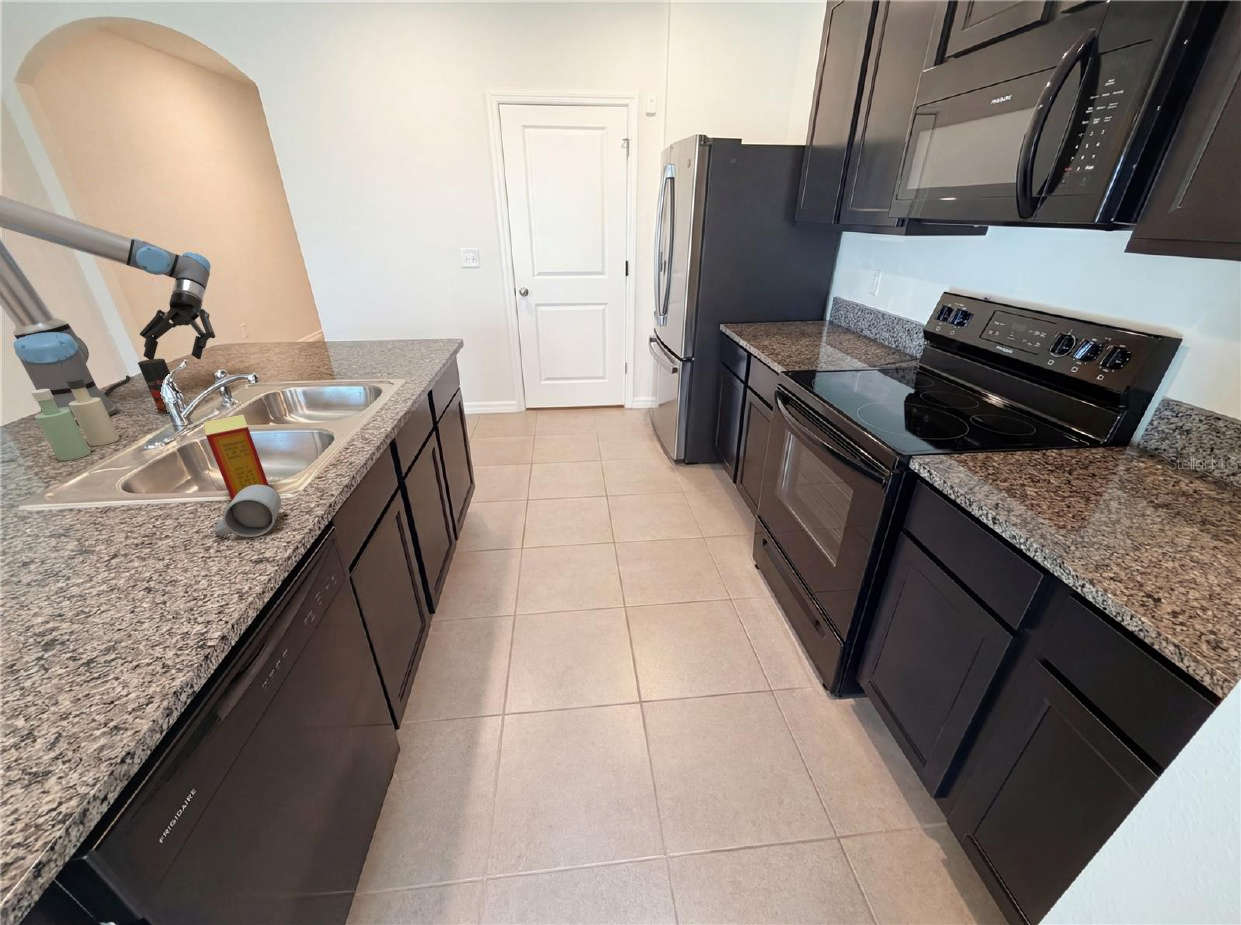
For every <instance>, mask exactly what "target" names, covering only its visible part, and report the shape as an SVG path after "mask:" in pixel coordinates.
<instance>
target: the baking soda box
mask: <svg viewBox="0 0 1241 925" xmlns="http://www.w3.org/2000/svg"><path fill="white" fill-rule="evenodd" d="M203 426H204V432H205V437H206V440H207V442H208V444H209V447H210V450H211V452H212V454H213V458H214V460H215V462H216V464H217V467H218V470H219V472H220V475H221V477H222V479H223V482H224V485H225V487H226V489H227V492H228V494H229V497H230V499H231V501H232V500H233V499H234V498H235V496H236V495H237V494H238V493H239V492H240V491H241V490H243V489H244V488H246V487H248V486H251V485H266V486H269V487H270V484H269V482H268V479H267V476H266V473H265V471H264V468H263V465H262V462H261V460H260V457H259V453H258V452H257V448H256V446H255V443H254V440H253V437H252V434H251V431H250V429H249V426H248V423H247V421H246V417H245V415H244V413H240V414H236V415H235V414H234V415H231V416H230V415H229V416H225V417H220V418H215V419H210V420H204V421H203Z"/></svg>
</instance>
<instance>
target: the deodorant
mask: <svg viewBox="0 0 1241 925" xmlns="http://www.w3.org/2000/svg"><path fill="white" fill-rule="evenodd" d="M137 365H138V367H139V369H140V372H141V374H142V377H143V379H144V382H145V384H146V385H147V386H146V387H147V388H148V390H149V392H150V395H151V397H152V399H153V402H154V404H155V406H156V409H157V410H158V411H157V412H158V413H159V414H161V415H168V414H169V413H168V412H167V410H166V405H165V404H164V402H163V399H162V398H161V394H160V392H161V387H162V383H163V380H164V379H165V377H166V376H167V375H168V374H171V372H170V370H169V367H168V365H167V362H166V360H165V358H154V359H150V360H149V359H145V360H141V361H138V362H137ZM173 382H174V383H175V381H174V380H173Z"/></svg>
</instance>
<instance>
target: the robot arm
mask: <svg viewBox="0 0 1241 925" xmlns="http://www.w3.org/2000/svg"><path fill="white" fill-rule="evenodd" d="M0 228H1V229H6V230H9V231H12V232H15V233H19V234H21V235H24V236H29V237H32V238H35V239H38V240H42V241H46V242H48V243H51V244H54V245H55V244H56V245H59V246H60V247H61V246H62V247H64V248H65V247H66V248H69V249H72V250H75V251H77V252H82V253H85V254H88V255H91V256H95V257H97V258H101V259H104V260H108V261H112V262H115V263H118V264H121V265H125V266H129V267H131V268H134V269H138V270H141V271H144V272H145V273H147V274H150V275H151V274H152V275H154V276H162V275H163V276H166V277H168V278H172V279H174V284H173V288H172V290H171V296H170V298H169V302H168V306H169V310H168V311H163V310H162V309H158V310H157V311H156V313H155V315H154V317H153V318H152V319H151V320H150V321H149V322H148V323H147V324H146V326H145V327H143V329H142V330H141V331H140V332H139V336H141V337H142V338H144V339H145V340H144V344H143V347H144V353H143V357H144V358H146V359H147V360H150V359H155V356H156V352H157V349H158V345H159V341H157V340H158V339H160V338H161V337H162V336H164V335H165V334H166V333H167V332H169V331H170V330H171V329H173V328H174V329H175V328H177V327H181V326H191V327H192V329H193V330H194V331H195V332H196V333H197V335H195V337H194V342H193V346H192V351H191V356H193V357H194V358H195V359H197V360H201V359H202V355H203V350H204V349H206V347H207V343H208V341H209V340H210V339H215V338H216V334H215V331H214V328H213V325H212V324H211V321H210V313H208V312H207V310H205V309H204V308H202V307H203V302H204V298H205V294H206V290H207V286H208V283H209V278H210V275H211V267H212V265H211V263H210V260H208V259H207V258H206V257H205V256H203V255H202V254H199V253H197V252H195V253H194V252H191V251H186V252H183V253H182V254H181V255H180V254H177V253H174V252H172V251H169V250H167V249H164V248H162V247H159V246H157V245H154V244H152V243H149V242H148V241H145V240H141V239H139V238H135V237H132V238H129V237H127V236H124V235H121V234H118V233H115V232H112V231H109V230H106V229H104V228H103V229H102V228H100V227H97V226H94V225H91V224H87V223H85V222H81V221H79V220H77V219H73V218H70V217H66V216H63V215H60V214H57V213H54V212H52V211H49V210H46V209H43V208H40V207H37V206H34V205H31V204H29V203H25V202H22V201H18V200H15V199H13V198H10V197H7V196H3V195H2V194H1V195H0ZM0 307H1V308H2V310H3V311H4V312H5V314H6V315H7V316H8V318H9V319H10V320H11V321H12V323H13V324H14V326H15V328H14V330H13V332H12V335H13V336H14V337H15V340H14V341H13V343H12V344H13V349H14V354H15V355H16V357H17V358H19V360H20V362H21V365H22V366H23V368H24V370H25V372H26V374H27V375H28V376H29V379H30V381H31V382H32V385H33V386H34V388H35V390H40V389H50V391H51V393H52V395H53V397H54V398H53V399H54V401H55V403H56V405H57V407H58V409H69V410H70V412H71V414H72V416H73V418H74V420H75V422H76V424H77V425H79V423H78V422H77V420H76V418H75V416H74V414H73V412H72V410H71V408H70V406H69V403H70V402H73V401H76V398H75V396H74V394H73V392H72V390H71V389H69V387H68V385H67V383H66V381H67V380H70V379H75V378H82V379H83V380H84V382H85V384H86V389H87V391H88V393H89V395H90V397H91V398H95V397H96V398H101V400H102V402H103V405H104V407H105V409H106V411H107V413H108V415H109V417H110V416H113V415H114V414H116V413H117V412H118V409H117V407H116V405H115V404H114V403H113V402H112V400H111V399H109V397H108V396H107V395H109V393H110V392H111V391H112V390H113V389H115V388H117V387H119V386H122V385H124V384H126V383H128V382H129V380H130V379H131V376H130V375H128V374H126V375H125V379H124V380H122V381H120V382H121V383H120V382H118V383H115V384H113V385H111V386H110V387H109V388H107V389H106V390H105V392H102V390H101V389H100V388H99V387H98V386H97V384H96V382H95V380H94V377H93V375H92V374H91V372H90V369H89V367H88V365H87V363H88V360H89V358H90V352H89V348H88V346H87V344H86V342H85V341H84V340H82V339H81V337H79V336H77V334H76V333H75V331H74V329H73V328H72V327H71V326H70V323H68V321H67V320H63V319H61V318H58V317H57V316H56V315H55V314H54V312H53V311H52V309H51V308H50V306H49V305H48V303H47V302H46V300H45V299H44V297H43V296H42V295H41V293H40V292H39V290H38V288H36V286H35V285H34V283H33V281H32V280H31V279H30V278H29V276H28V274H27V273H26V272H25V270H24V269H23V267H22V265H21V264H20V263H19V262H18V259H16V257H15V256H14V254H13V253H12V251H11V249H9V247H8V245H7V244H6V243H5V242H4V240H3V238H2V237H1V236H0ZM198 318H199V319H200V321H201V324H202V327H203V329H202V327H201V326H200V325H199V323H198V322H197V321H196V320H197V319H198ZM40 413H43V411H42V410H41V409H40Z"/></svg>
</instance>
